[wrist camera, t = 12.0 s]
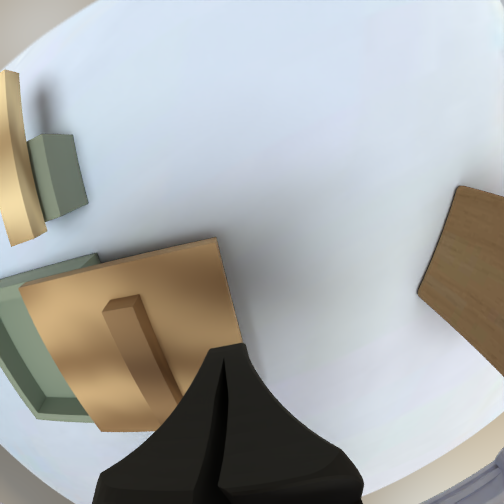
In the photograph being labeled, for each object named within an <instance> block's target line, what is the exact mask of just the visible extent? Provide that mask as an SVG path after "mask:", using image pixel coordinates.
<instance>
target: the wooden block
mask: <svg viewBox="0 0 504 504" xmlns="http://www.w3.org/2000/svg"><path fill="white" fill-rule="evenodd" d="M418 296H419V297H420V298H421V299H422V300H423V301H424V302H426V303H427V304H428V305H429V306H430V307H431V308H432V309H433V310H435V311H436V312H437V313H438V314H439V315H440V316H441V317H442V318H443V319H445V320H446V321H447V322H448V323H449V324H450V325H451V326H452V327H453V328H454V329H455V330H456V331H458V332H459V333H460V334H461V335H462V336H463V337H464V338H465V339H466V340H467V341H468V342H469V343H470V344H471V345H472V346H473V347H474V348H475V349H476V350H478V351H479V352H480V353H481V354H482V355H483V356H484V357H485V358H486V359H487V360H488V361H489V362H490V363H491V364H492V365H493V366H494V367H495V368H496V369H497V370H498V371H499V372H500V373H501V374H502V375H503V377H504V197H502V196H499V195H495V194H492V193H488V192H485V191H481V190H477V189H474V188H470V187H466V186H459V187H458V188H457V190H456V193H455V197H454V200H453V203H452V206H451V209H450V212H449V215H448V218H447V221H446V224H445V226H444V229H443V232H442V234H441V237H440V240H439V242H438V245H437V247H436V250H435V253H434V255H433V257H432V260H431V262H430V265H429V267H428V269H427V272H426V274H425V276H424V279H423V281H422V283H421V285H420V287H419V290H418Z"/></svg>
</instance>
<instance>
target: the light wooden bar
mask: <svg viewBox="0 0 504 504" xmlns="http://www.w3.org/2000/svg"><path fill="white" fill-rule="evenodd" d="M0 210H1V214H2V218H3V221H4V225H5V228H6V232H7V235H8V238H9V241H10V244H11V247H12V246H15V245H17V244H20V243H23V242H26V241H29V240H31V239H34V238H36V237H38V236H40V235H41V234H43V233H45V232H47V228H46V225H45V221H44V218H43V214H42V211H41V207H40V203H39V199H38V195H37V191H36V187H35V183H34V179H33V174H32V169H31V165H30V160H29V154H28V149H27V143H26V137H25V130H24V123H23V115H22V106H21V95H20V82H19V73H16V72H13V71H9V70H3V71H2V72H0Z"/></svg>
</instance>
